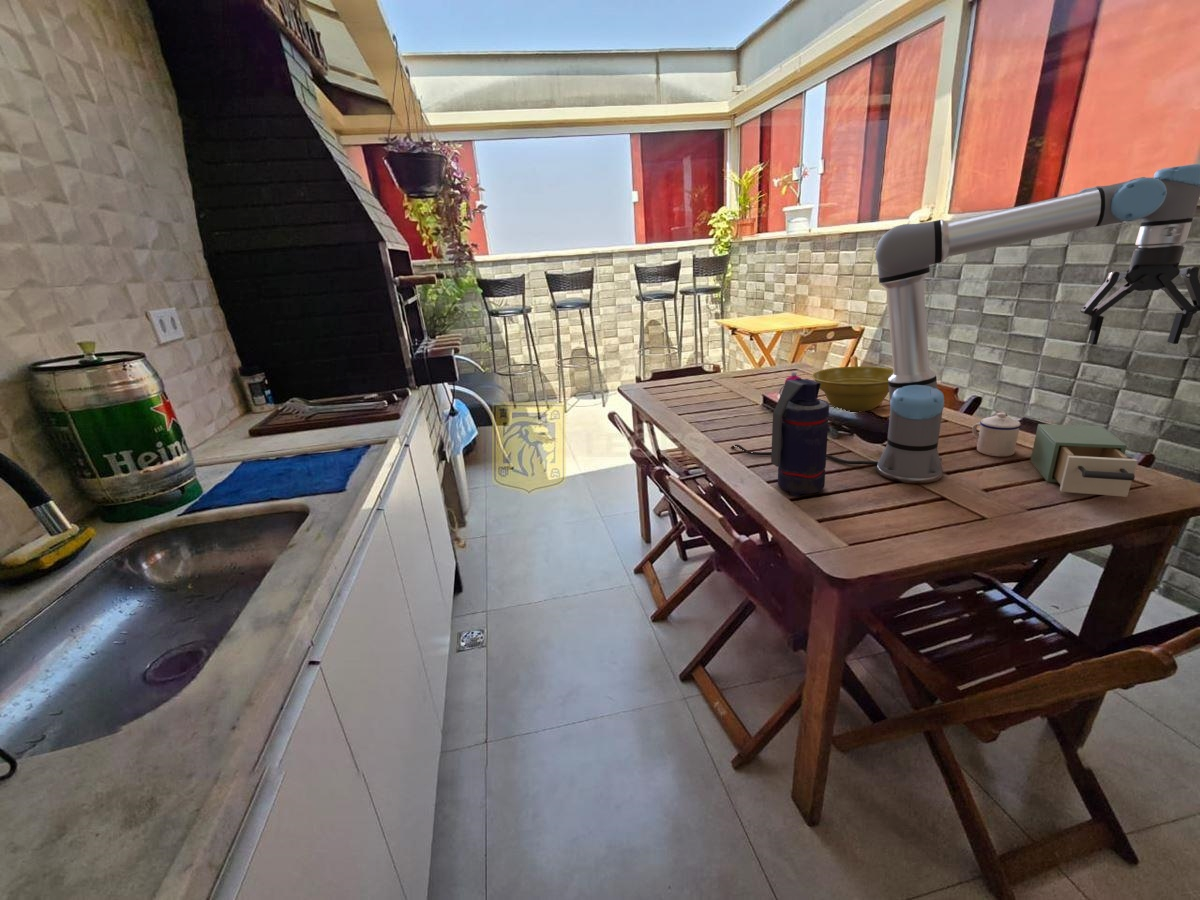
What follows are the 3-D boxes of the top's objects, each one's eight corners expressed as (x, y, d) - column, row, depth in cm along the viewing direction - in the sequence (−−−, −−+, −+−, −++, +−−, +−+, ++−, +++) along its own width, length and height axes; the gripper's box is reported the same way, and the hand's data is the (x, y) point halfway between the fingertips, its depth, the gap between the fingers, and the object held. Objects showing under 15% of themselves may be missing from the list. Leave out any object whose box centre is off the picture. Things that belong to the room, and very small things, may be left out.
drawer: (1137, 506, 106) (1148, 469, 103) (1068, 500, 112) (1077, 465, 108) (1102, 473, 121) (1111, 440, 118) (1043, 469, 127) (1050, 437, 124)
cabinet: (1115, 486, 117) (1127, 445, 113) (1046, 481, 122) (1056, 442, 119) (1091, 463, 129) (1101, 425, 125) (1030, 460, 134) (1038, 423, 131)
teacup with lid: (1023, 453, 139) (1031, 414, 135) (998, 459, 137) (1006, 420, 133) (982, 441, 150) (988, 404, 146) (958, 446, 148) (964, 409, 144)
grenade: (808, 476, 140) (812, 373, 129) (833, 493, 129) (841, 381, 118) (763, 484, 138) (764, 380, 128) (785, 502, 127) (788, 389, 117)
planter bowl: (820, 394, 215) (822, 364, 211) (905, 399, 197) (909, 366, 192) (801, 415, 191) (802, 381, 187) (896, 422, 173) (900, 385, 168)
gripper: (1089, 252, 110) (1066, 347, 117) (1255, 239, 98) (1218, 345, 106) (1077, 251, 116) (1056, 341, 123) (1232, 239, 104) (1199, 339, 112)
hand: (1131, 343), depth 114 cm, fingers open, 13 cm apart
